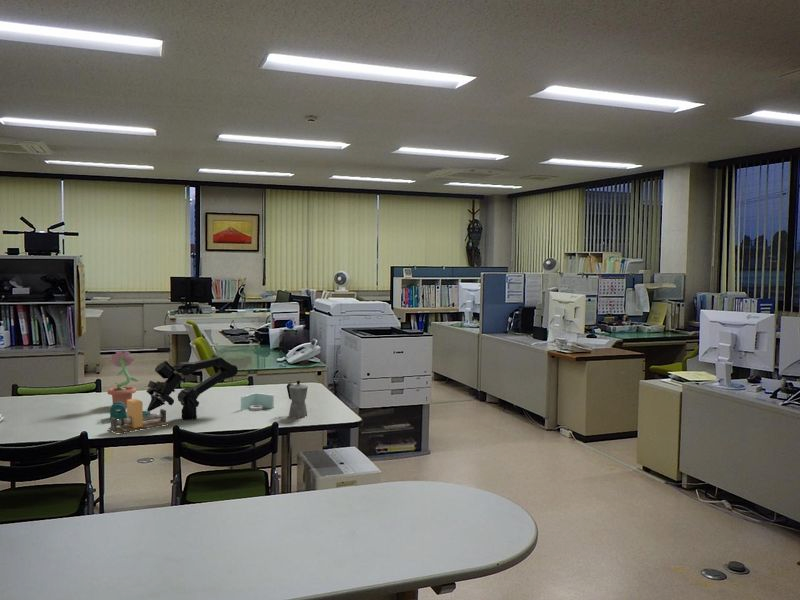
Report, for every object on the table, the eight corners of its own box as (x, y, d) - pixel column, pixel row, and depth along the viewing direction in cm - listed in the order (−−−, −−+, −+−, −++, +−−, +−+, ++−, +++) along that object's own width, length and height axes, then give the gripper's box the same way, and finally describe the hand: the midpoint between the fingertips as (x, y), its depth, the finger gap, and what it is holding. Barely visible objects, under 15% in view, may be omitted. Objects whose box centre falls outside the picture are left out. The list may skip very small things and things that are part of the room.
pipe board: (159, 420, 304) (159, 407, 304) (169, 425, 297) (169, 411, 297) (108, 430, 287) (108, 416, 287) (116, 434, 280) (116, 420, 280)
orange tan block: (135, 422, 295) (135, 398, 294) (142, 426, 289) (142, 401, 288) (127, 424, 292) (126, 399, 291) (134, 428, 286) (133, 402, 285)
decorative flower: (139, 402, 338) (139, 347, 336) (137, 409, 325) (136, 351, 323) (109, 404, 334) (108, 348, 331) (105, 410, 321) (105, 352, 318)
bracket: (110, 421, 302) (110, 405, 302) (111, 417, 309) (110, 402, 308) (150, 418, 309) (150, 402, 309) (150, 414, 315) (150, 399, 315)
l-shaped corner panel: (240, 411, 328) (240, 396, 327) (255, 406, 338) (255, 392, 338) (259, 414, 322) (259, 399, 322) (273, 408, 333) (273, 395, 333)
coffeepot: (313, 416, 318) (314, 381, 317) (299, 419, 311) (299, 384, 309) (294, 410, 328) (294, 376, 327) (279, 414, 321) (280, 379, 320)
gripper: (150, 371, 304) (127, 397, 297) (167, 377, 290) (144, 404, 283) (166, 385, 310) (144, 410, 303) (183, 391, 297) (161, 418, 290)
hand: (147, 410), depth 294 cm, fingers closed
